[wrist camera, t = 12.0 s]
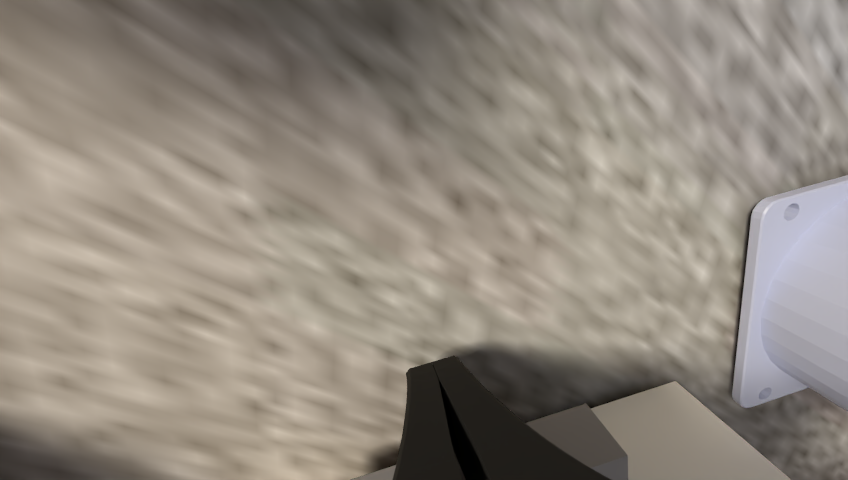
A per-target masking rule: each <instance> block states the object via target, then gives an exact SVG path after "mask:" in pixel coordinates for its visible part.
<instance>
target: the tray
mask: <svg viewBox="0 0 848 480" xmlns="http://www.w3.org/2000/svg"><path fill="white" fill-rule="evenodd" d="M526 424H527V425H528V426H530V427H531V428H532V429H534V430H535V431H536V432H538V433H539V434H540V435H542V436H543V437H544V438H546V439H547V440H548V441H550V442H551V443H553V444H554V445H556V446H557V447H559V448H560V449H562V450H563V451H564V452H566V453H568V454H569V455H571V456H572V457H574V458H575V459H577V460H579V461H580V462H582V463H583V464H585V465H586V466H588V467H590V468H592V469H593V470H595V471H597V472H599V473H601V474H602V475H604V476H606V477H608V478H609V479H611V480H791V479H790V478H789V477H788V476H786V475H785V474H784V473H783V472H782V471H781V470H779V469H778V468H777V467H776V466H775V465H773V464H772V463H771V462H770V461H769V460H768V459H766V458H765V457H764V456H763V455H762V454H761V453H759V452H758V451H757V450H756V449H755V448H754V447H752V446H751V445H750V444H749V443H748V442H746V441H745V440H744V439H743V438H742V437H741V436H739V435H738V434H737V433H736V432H735V431H734V430H732V429H731V428H730V427H729V426H728V425H727V424H725V423H724V422H723V421H722V420H721V419H719V418H718V417H717V416H716V415H715V414H714V413H712V412H711V411H710V410H709V409H708V408H707V407H705V406H704V405H703V404H702V403H701V402H700V401H698V400H697V399H696V398H695V397H694V396H693V395H691V394H690V393H689V392H688V391H687V390H685V389H684V388H683V387H682V386H681V385H680V384H678V383H677V382H676V381H674V382H671V383H668V384H665V385H662V386H658V387H655V388H652V389H649V390H646V391H643V392H640V393H637V394H634V395H631V396H628V397H625V398H622V399H619V400H615V401H612V402H609V403H606V404H603V405H600V406H597V407H594V408H591V409H590V408H589V406H588V405H587V404H583V405H580V406H576V407H573V408H570V409H567V410H564V411H561V412H558V413H555V414H552V415H549V416H546V417H542V418H539V419H536V420H533V421H530V422H527V423H526ZM455 455H456V454H455ZM456 459H457V457H456ZM457 463H458V466H459V469H460V472H461V475H462V478H463V480H466V479H465V476H464V474H463V471H462V469H461V467H460V464H459V462H458V459H457ZM395 468H396V465H394V466H391V467H388V468H385V469H382V470H379V471H376V472H373V473H369V474H366V475H363V476H360V477H357V478H354V479H351V480H393V476H394V472H395Z"/></svg>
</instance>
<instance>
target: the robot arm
mask: <svg viewBox="0 0 848 480" xmlns="http://www.w3.org/2000/svg"><path fill="white" fill-rule="evenodd" d="M432 364H433V365H432ZM406 376H407V403H406V413H405V420H404V427H403V434H402V440H401V444H400V449H399V454H398V459H397V464H396V468H395V472H394V476H393V480H463V478H462V475H461V472H460V469H459V466H458V463H457V459H458V462H459V464H460V467H461V469H462V471H463V474H464V476H465V479H466V480H611V479H609V478H608V477H606V476H604V475H602V474H601V473H599V472H597V471H595V470H593V469H592V468H590V467H588V466H586V465H585V464H583V463H582V462H580V461H579V460H577V459H575V458H574V457H572V456H571V455H569V454H568V453H566V452H564V451H563V450H562V449H560V448H559V447H557V446H556V445H554V444H553V443H551V442H550V441H548V440H547V439H546V438H544V437H543V436H542V435H540V434H539V433H538V432H536V431H535V430H534V429H532V428H531V427H530V426H528V425H527V424H526V423H525V422H523V421H522V420H521V419H520V418H518V417H517V416H516V415H515V414H514V413H512V412H511V411H510V410H509V409H508V408H507V407H505V406H504V405H503V404H502V403H501V402H500V401H499V400H498V399H497V398H495V397H494V396H493V395H492V394H491V393H490V392H489V391H488V390H487V389H486V388H485V387H484V386H483V385H482V384H481V383H480V382H479V381H478V380H477V379H476V378H475V377H474V376H473V375H472V374H471V373H470V372H469V370H468V369H467V368H466V367H465V366H464V365H463V363H462V362H461V361H460V360H459V358H457V357H455V356H451V357H448V358H445V359H441V360H438V361H434V362H431V363H428V364H424V365H421V366H417V367H414V368H410V369H409V370H408V372H407V373H406ZM806 388H811V389H812V390H814V391H816V392H817V393H819V394H820V395H822V396H824V397H825V398H827V399H828V400H830V401H832V402H833V403H835V404H836V405H838V406H840V407H841V408H843V409H844V410H846V411H848V175H846V176H842V177H839V178H835V179H832V180H828V181H824V182H821V183H817V184H814V185H810V186H806V187H803V188H799V189H796V190H792V191H788V192H785V193H781V194H778V195H774V196H770V197H767V198H765V199H763V200H761V201H760V202H759V203H758V204H757V205H756V206H755V208H754V209H753V211H752V215H751V222H750V231H749V241H748V250H747V259H746V269H745V278H744V287H743V296H742V306H741V315H740V324H739V334H738V343H737V352H736V362H735V371H734V380H733V390H732V398H733V400H734V401H735V402H736V403H738V404H739V405H740V406H741V407H744V408H750V407H754V406H757V405H760V404H762V403H765V402H768V401H771V400H774V399H777V398H780V397H783V396H786V395H789V394H792V393H795V392H798V391H801V390H803V389H806ZM455 454H456V455H455ZM456 457H457V459H456Z"/></svg>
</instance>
